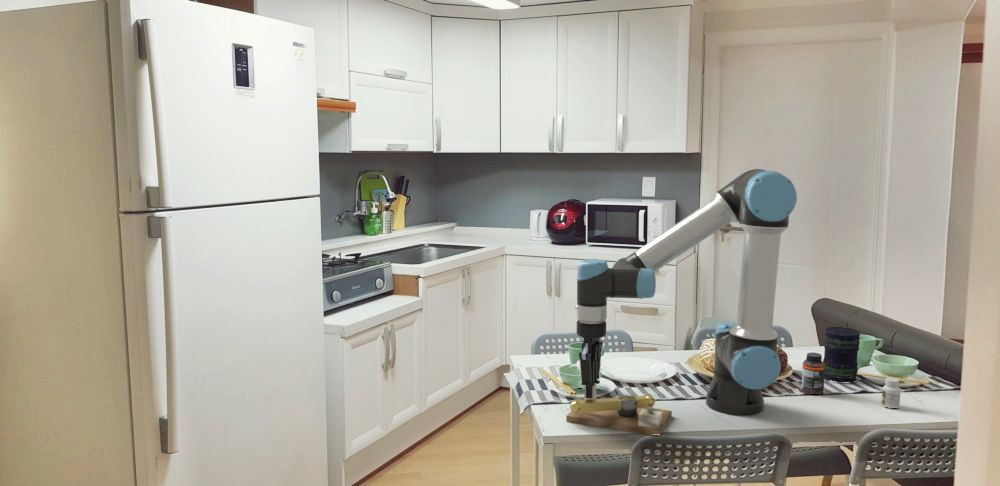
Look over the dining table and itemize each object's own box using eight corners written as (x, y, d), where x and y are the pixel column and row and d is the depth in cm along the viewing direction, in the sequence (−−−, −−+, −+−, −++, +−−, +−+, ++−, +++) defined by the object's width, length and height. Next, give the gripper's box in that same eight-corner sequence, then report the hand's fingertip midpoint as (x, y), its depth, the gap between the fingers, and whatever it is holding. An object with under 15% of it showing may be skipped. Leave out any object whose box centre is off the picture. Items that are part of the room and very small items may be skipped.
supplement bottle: (811, 387, 227) (814, 350, 226) (828, 393, 222) (830, 355, 220) (796, 390, 225) (798, 352, 223) (812, 396, 220) (815, 358, 218)
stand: (671, 416, 204) (672, 394, 203) (659, 436, 190) (659, 412, 189) (584, 403, 213) (584, 381, 212) (566, 421, 200) (566, 398, 199)
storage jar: (831, 371, 243) (834, 325, 241) (862, 379, 235) (866, 331, 233) (815, 377, 237) (818, 330, 235) (847, 385, 229) (850, 336, 227)
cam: (650, 407, 205) (650, 392, 204) (658, 414, 200) (658, 398, 199) (567, 414, 200) (567, 398, 199) (573, 421, 195) (573, 404, 194)
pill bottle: (882, 402, 215) (884, 375, 214) (899, 405, 213) (902, 378, 212) (880, 407, 211) (882, 380, 210) (898, 410, 209) (900, 383, 208)
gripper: (585, 313, 205) (584, 398, 208) (569, 324, 193) (568, 414, 197) (612, 315, 202) (611, 402, 205) (598, 327, 190) (596, 419, 194)
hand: (590, 408), depth 201 cm, fingers closed
